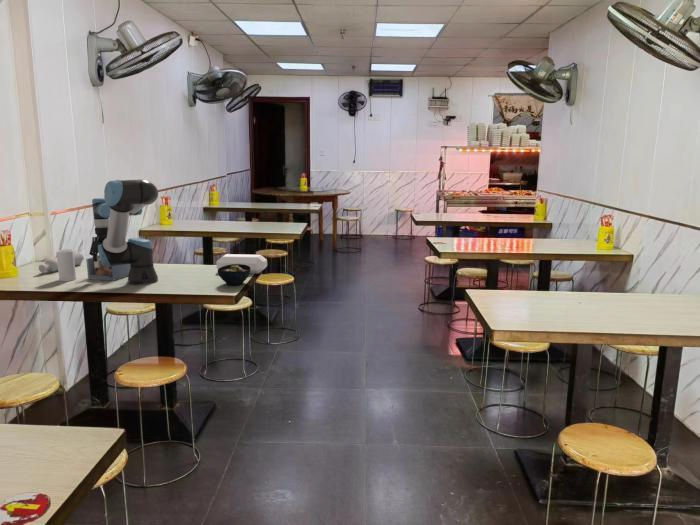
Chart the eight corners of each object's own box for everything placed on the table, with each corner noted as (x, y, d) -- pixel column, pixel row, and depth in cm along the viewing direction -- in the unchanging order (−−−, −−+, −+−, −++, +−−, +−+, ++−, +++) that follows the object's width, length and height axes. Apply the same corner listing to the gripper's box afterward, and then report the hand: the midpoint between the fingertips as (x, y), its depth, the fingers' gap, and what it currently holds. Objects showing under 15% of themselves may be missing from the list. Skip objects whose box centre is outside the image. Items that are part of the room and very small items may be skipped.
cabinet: (86, 279, 296) (84, 259, 294) (110, 271, 315) (108, 252, 313) (111, 281, 292) (109, 261, 290) (134, 273, 311) (133, 254, 308)
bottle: (70, 258, 335) (32, 270, 307) (75, 246, 333) (38, 257, 304) (81, 266, 335) (45, 279, 307) (87, 255, 332) (51, 267, 304)
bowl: (213, 287, 280) (212, 268, 278) (225, 279, 297) (224, 261, 295) (245, 288, 278) (244, 269, 276) (255, 280, 294) (254, 262, 292)
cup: (79, 277, 299) (76, 249, 296) (70, 281, 291) (67, 252, 288) (65, 277, 300) (62, 249, 296) (56, 281, 292) (52, 251, 288)
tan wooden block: (118, 277, 301) (116, 259, 299) (112, 279, 296) (110, 261, 294) (99, 276, 304) (98, 258, 302) (93, 278, 299) (92, 260, 297)
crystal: (221, 252, 322) (268, 253, 320) (222, 268, 324) (268, 269, 322) (214, 257, 308) (262, 258, 306) (215, 274, 310) (263, 275, 308)
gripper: (112, 223, 307) (115, 260, 311) (79, 229, 284) (83, 268, 288) (123, 224, 305) (126, 261, 309) (91, 229, 282) (95, 269, 286)
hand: (105, 264), depth 298 cm, fingers open, 13 cm apart
